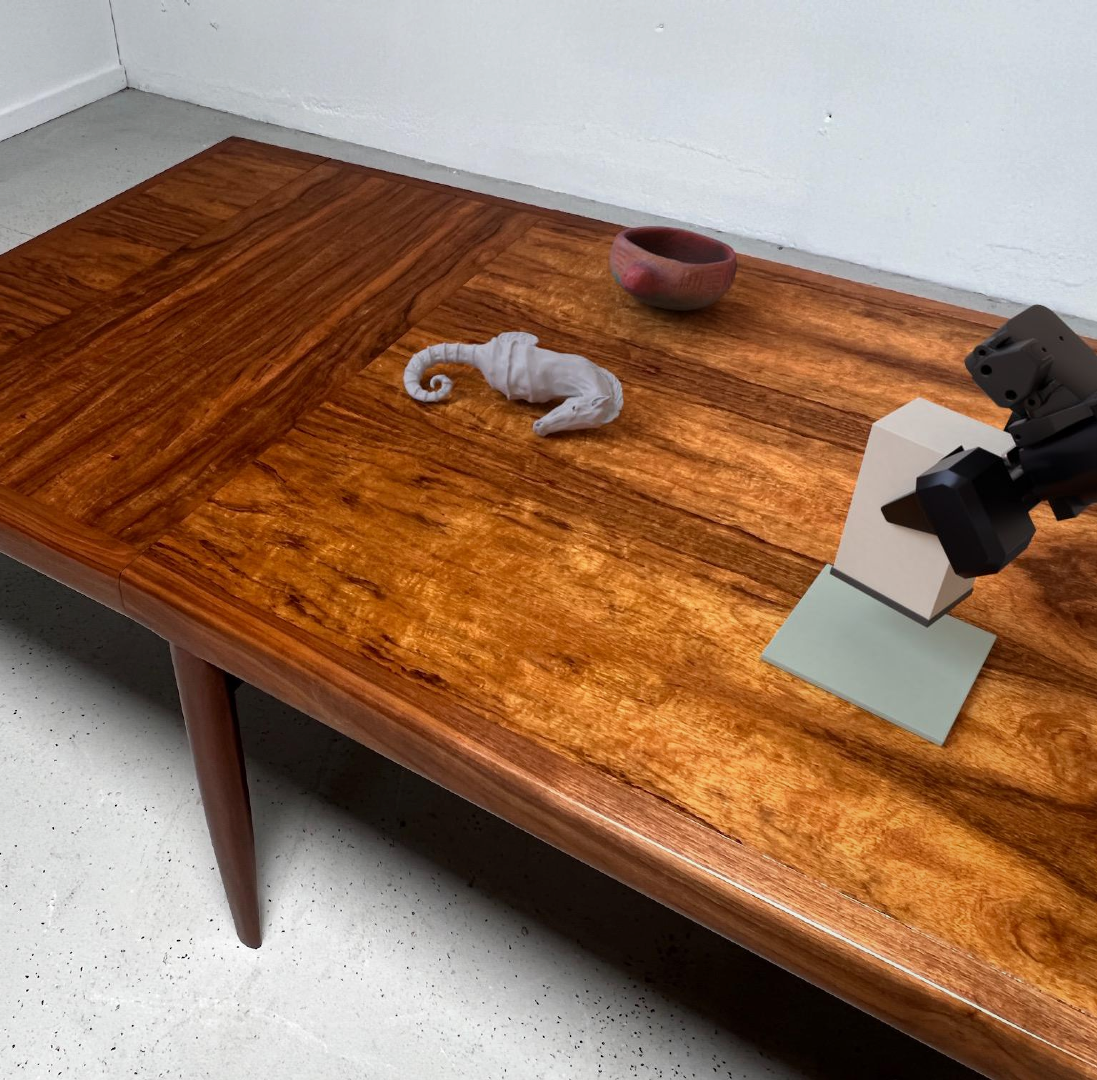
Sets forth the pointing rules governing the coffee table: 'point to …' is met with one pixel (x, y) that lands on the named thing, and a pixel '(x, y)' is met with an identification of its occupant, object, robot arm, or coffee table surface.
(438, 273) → the coffee table surface
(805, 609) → the mat
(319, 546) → the coffee table surface
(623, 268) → the bowl
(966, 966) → the coffee table surface
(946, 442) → the white tilted block
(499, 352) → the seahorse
